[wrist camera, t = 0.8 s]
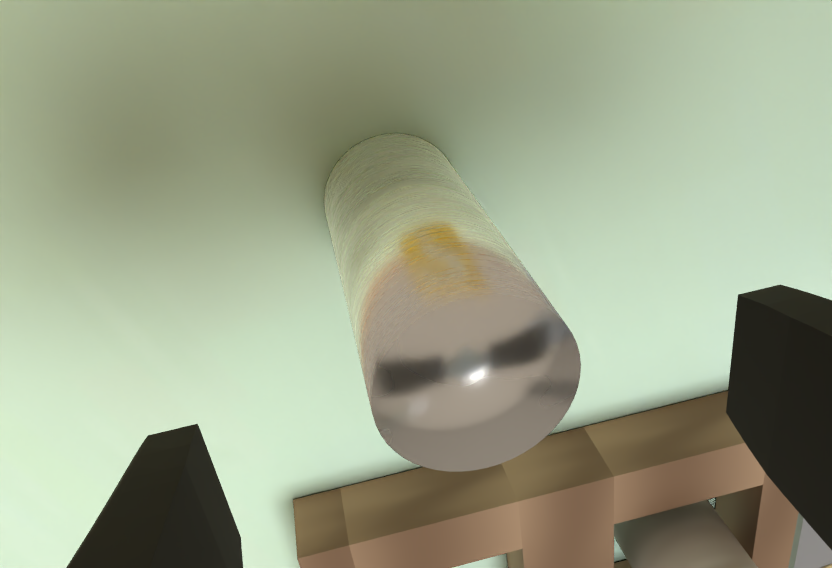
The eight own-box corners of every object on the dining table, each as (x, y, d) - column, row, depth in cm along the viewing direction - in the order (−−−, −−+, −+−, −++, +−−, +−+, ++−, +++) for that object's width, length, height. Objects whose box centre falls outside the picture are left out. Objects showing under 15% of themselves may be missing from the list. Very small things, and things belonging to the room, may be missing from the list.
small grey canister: (449, 121, 16) (577, 273, 10) (464, 245, 17) (583, 443, 11) (311, 148, 15) (352, 324, 9) (338, 272, 17) (389, 492, 11)
